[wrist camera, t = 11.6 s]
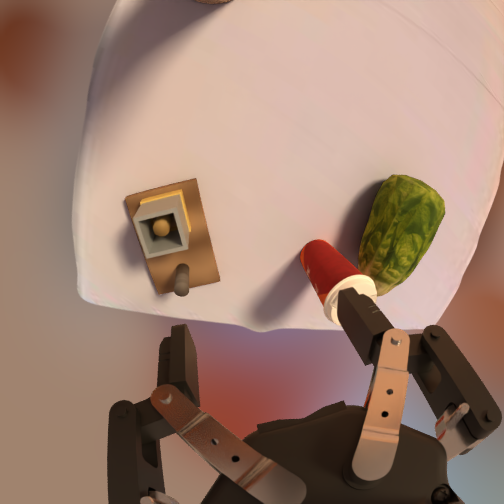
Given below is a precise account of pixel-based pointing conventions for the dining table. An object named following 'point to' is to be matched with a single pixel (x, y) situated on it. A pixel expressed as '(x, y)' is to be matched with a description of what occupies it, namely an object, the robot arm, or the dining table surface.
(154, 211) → the sleeve
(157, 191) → the pin board
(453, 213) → the dining table surface
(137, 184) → the dining table surface
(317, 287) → the paper cup
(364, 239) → the lettuce
